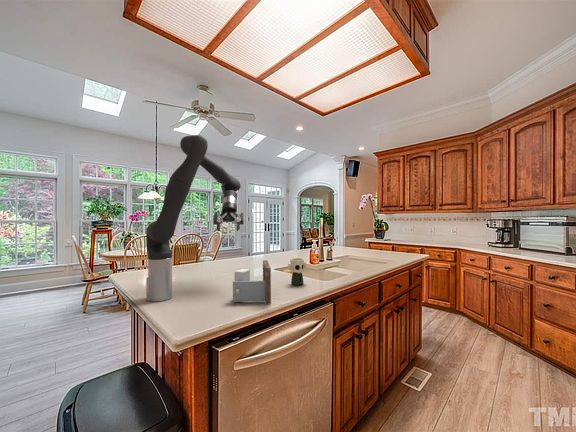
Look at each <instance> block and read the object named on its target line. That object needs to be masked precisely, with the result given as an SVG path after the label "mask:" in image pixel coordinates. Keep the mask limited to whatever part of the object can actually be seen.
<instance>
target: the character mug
mask: <svg viewBox="0 0 576 432" xmlns="http://www.w3.org/2000/svg"><path fill="white" fill-rule="evenodd" d="M289 260H290V262H289V263H287V270H288V271H290V272H291V273H292V274H291V284H292V285H295V286H299V285H304V276H303V272H304V271H305V269H306V268H307V261H305V259H304V258H301V257H293V258H290V259H289Z"/></svg>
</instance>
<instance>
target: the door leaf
mask: <svg viewBox="0 0 576 432" xmlns="http://www.w3.org/2000/svg"><path fill="white" fill-rule="evenodd" d="M242 302H243V303H247V302H266V291H265V281H263V280H250V281H235V280H233V281H232V303H242Z"/></svg>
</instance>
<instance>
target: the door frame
mask: <svg viewBox="0 0 576 432" xmlns="http://www.w3.org/2000/svg"><path fill="white" fill-rule="evenodd" d="M271 270H272V268H271V265H270V264H269V262H268V259H266V260H265V259H263V260H262V281H265V291H266V301H265V304H266V305H270V304H272V291H271V290H272V283H271V282H272V280H271V279H272V273H271Z"/></svg>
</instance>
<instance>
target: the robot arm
mask: <svg viewBox="0 0 576 432" xmlns="http://www.w3.org/2000/svg"><path fill="white" fill-rule="evenodd" d="M179 145H180V148H181V149H180V150H181V151H182V152H183V153H184V154H185V155H186V157H185V158H184V160H183V162H182V163H181V164H180V165H179V166H178V167H177V168H176V169H175V171H174V172H172V174H171V176H170V178H169V180H168V182H167V185H166V188H165V191H164V196H163V204H162V205H163V206H162V208H161V211H160V213H159V215H158V217H157V219H156V220H155V221H152V222H150V224H149V225H148V226H147V228H146V233H145V234H146V235H145V237H146V241H145V242H146V253H147V271H148V272H147V277H146V279H145V280H146V284H145V288H146V289H145V290H146V291H145V292H146V296H145V297H146V302H154V303H155V302H162V301H163V302H164V301H167V300H168V301H169V300H170V299H172V298H173V252H172V249H171V245H170V241H171V239H172V238H173V237H174V235H175V231H176V226H177V223H178V219H179V216H180V214H181V211H182V209H183V207H184V205H185V201H186V199H187V197H188V195H189V193H190V190H191V187H192V184H193V182H194V179H195V177H196V174H197V172H198V170H199V167H200V166H201V167H202V169H204V170H206V172H208V173H209V174H210V176H211V177H212V178H213V179H214V180H216V182H217V183H218V184H220V185H221V186H220V188H221V192H222V195H223V196H222V197H223V199H222V205H221V206H222V207H221V212H220V213H218V212H214V216H213V219H212V220H213V225H215V226H216V230H217V231H218V232H221V225H222V224H224V223H232V222H233V223H234V224H236V232H239V231H240V229H241V227H240V226H241V225H244V223H245V221H244V213H243V212H241V213H238V200H237V199H238V194H237V192H238V191H239V190H241V187H242V184H241V182H240V180H238V178H236V177H234V176H233V175H232V174H230V173H228V172H227V171H226V169H224V167H223V166H222V165H220V164H219V163H218V162H216V161H215V160H214V159H212V158H211V157H209V156H208V155H207V154H206V153H207V151H208V145H209V143H208V141H207V138H206V137H205V136H203V135H200V134H194V135H186V136H183V137H182V138H181V139H180V144H179ZM238 218H239V219H238Z"/></svg>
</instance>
